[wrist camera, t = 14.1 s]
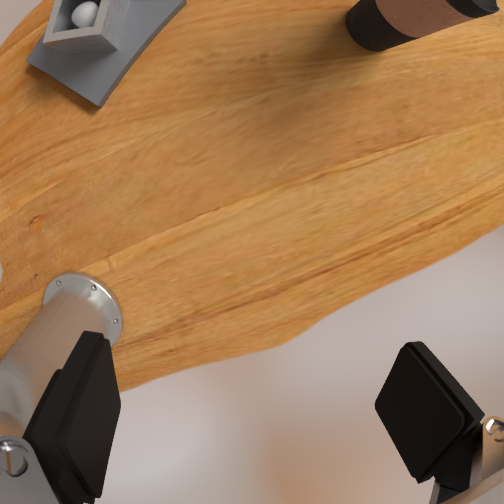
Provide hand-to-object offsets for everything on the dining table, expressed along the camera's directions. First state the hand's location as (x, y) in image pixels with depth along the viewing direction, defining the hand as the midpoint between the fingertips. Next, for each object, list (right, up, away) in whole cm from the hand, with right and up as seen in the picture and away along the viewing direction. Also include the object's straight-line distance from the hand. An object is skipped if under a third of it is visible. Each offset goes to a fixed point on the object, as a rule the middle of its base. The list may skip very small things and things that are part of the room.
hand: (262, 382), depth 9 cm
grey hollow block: (-18, +32, +15) cm, 40 cm away
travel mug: (+15, +33, +20) cm, 41 cm away
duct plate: (-18, +31, +17) cm, 39 cm away
